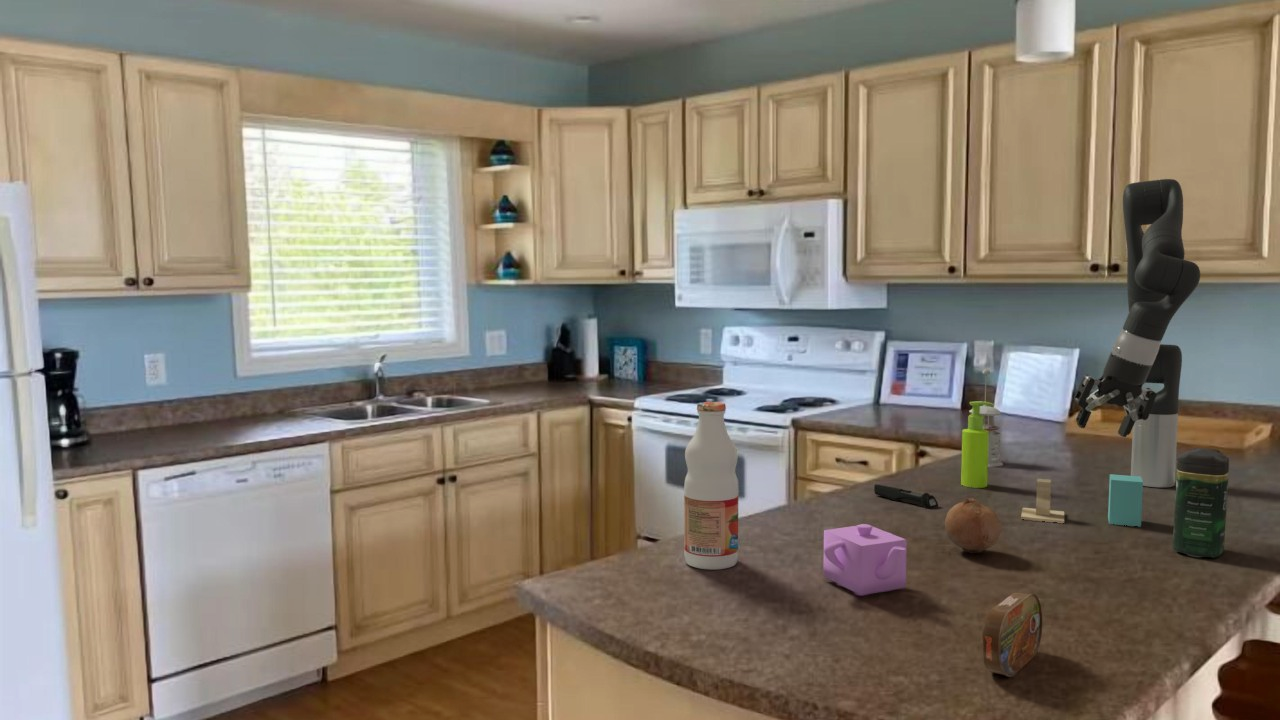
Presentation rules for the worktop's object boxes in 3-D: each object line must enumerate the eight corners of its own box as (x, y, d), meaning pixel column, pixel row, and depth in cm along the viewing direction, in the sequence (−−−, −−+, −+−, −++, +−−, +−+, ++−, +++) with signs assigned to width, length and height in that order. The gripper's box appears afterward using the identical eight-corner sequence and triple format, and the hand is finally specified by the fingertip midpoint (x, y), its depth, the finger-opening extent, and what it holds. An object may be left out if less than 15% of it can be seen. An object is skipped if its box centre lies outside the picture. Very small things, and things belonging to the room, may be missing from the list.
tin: (1001, 686, 112) (1003, 619, 112) (976, 679, 115) (978, 613, 114) (1044, 649, 124) (1046, 587, 123) (1020, 643, 126) (1022, 582, 125)
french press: (963, 465, 243) (965, 370, 241) (965, 457, 254) (967, 366, 251) (1003, 467, 239) (1006, 371, 237) (1003, 459, 250) (1006, 367, 248)
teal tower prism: (1108, 517, 190) (1109, 474, 189) (1138, 520, 188) (1140, 476, 187) (1109, 524, 185) (1111, 479, 184) (1140, 527, 182) (1142, 482, 182)
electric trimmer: (881, 495, 212) (881, 482, 212) (939, 507, 200) (939, 493, 199) (870, 498, 210) (870, 484, 209) (928, 510, 197) (929, 496, 197)
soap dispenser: (993, 488, 216) (996, 403, 214) (962, 487, 217) (965, 403, 216) (989, 483, 222) (992, 400, 220) (959, 482, 223) (961, 399, 221)
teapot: (937, 600, 142) (938, 536, 141) (862, 614, 137) (863, 547, 136) (864, 567, 159) (865, 509, 158) (795, 578, 153) (796, 518, 152)
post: (1022, 510, 196) (1023, 475, 195) (1064, 514, 193) (1065, 478, 192) (1020, 519, 189) (1022, 482, 188) (1064, 523, 185) (1065, 486, 185)
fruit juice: (678, 556, 165) (677, 400, 163) (728, 552, 167) (728, 399, 165) (692, 572, 156) (692, 408, 153) (745, 568, 158) (746, 406, 156)
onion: (937, 545, 171) (939, 492, 170) (989, 545, 171) (990, 492, 170) (953, 560, 162) (955, 504, 161) (1008, 561, 161) (1009, 504, 160)
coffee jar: (1221, 562, 160) (1226, 456, 158) (1168, 554, 165) (1173, 451, 163) (1227, 549, 168) (1232, 448, 166) (1177, 541, 172) (1182, 443, 171)
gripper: (1158, 357, 182) (1126, 430, 188) (1089, 342, 182) (1059, 416, 187) (1177, 370, 175) (1144, 446, 181) (1105, 354, 175) (1074, 431, 180)
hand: (1100, 430), depth 184 cm, fingers open, 8 cm apart
